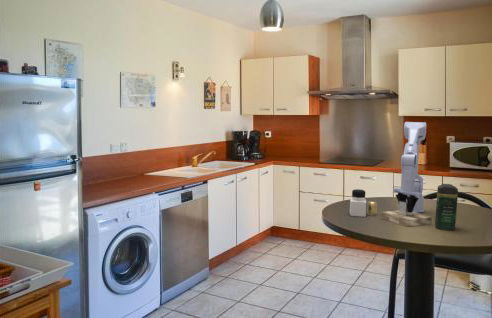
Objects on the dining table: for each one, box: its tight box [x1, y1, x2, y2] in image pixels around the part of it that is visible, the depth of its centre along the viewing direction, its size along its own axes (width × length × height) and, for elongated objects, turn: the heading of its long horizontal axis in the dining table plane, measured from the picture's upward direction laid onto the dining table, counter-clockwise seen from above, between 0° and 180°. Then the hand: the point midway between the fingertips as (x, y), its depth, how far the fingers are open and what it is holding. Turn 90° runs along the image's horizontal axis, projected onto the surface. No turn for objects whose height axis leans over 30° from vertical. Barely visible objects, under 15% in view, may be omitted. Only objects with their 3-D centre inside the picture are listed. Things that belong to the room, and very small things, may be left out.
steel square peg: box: [398, 201, 412, 216], centre depth 196 cm, size 4×4×6 cm
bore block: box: [380, 209, 433, 228], centre depth 197 cm, size 14×16×3 cm
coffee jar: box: [434, 183, 459, 231], centre depth 186 cm, size 10×8×19 cm
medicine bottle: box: [349, 188, 368, 218], centre depth 207 cm, size 7×7×12 cm
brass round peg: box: [367, 200, 378, 216], centre depth 209 cm, size 4×4×6 cm
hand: (406, 211), depth 197 cm, fingers closed on steel square peg, 4 cm apart
